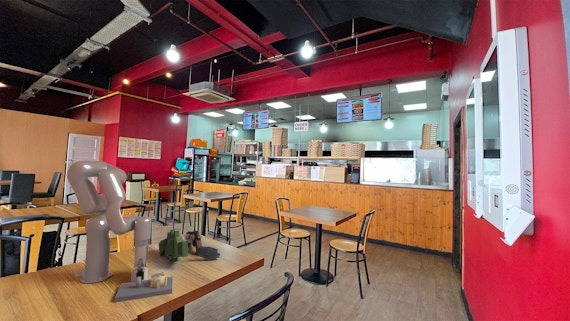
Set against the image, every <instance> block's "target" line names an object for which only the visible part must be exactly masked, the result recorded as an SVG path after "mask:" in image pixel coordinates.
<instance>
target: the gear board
mask: <svg viewBox="0 0 570 321" xmlns="http://www.w3.org/2000/svg"><path fill="white" fill-rule="evenodd" d="M173 278H174V277H173V276H169V277H168V273H167V272H166V271H162V272H157V273H154V274H152V275H151V276H150V279H147V280H143V281H141V277H137V278H136V282H132V281H129V282H121V283H120V286H119V288H118V290H117V291H116V292H117V293H116V294H115V296H114V303H120V302H126V301H127V302H128V301H131V300H133V301H134V300H139V299H140V300H141V299H144V298H151V297H157V296H163V295H169V294H171V295H172V294H173Z"/></svg>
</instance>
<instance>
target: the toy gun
mask: <svg viewBox="0 0 570 321" xmlns="http://www.w3.org/2000/svg"><path fill="white" fill-rule="evenodd" d="M202 237H203V236H202V235H201V234H200V230H199V229H198V230H194V231H193V230H191V231H186V233H185V235H184V238H183V239H184V241H187V242H188V246H193V247H194V248H195V254H196V253H197V252H198V250H199V248H200V246H203V244H202Z"/></svg>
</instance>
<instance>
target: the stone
mask: <svg viewBox="0 0 570 321" xmlns="http://www.w3.org/2000/svg"><path fill="white" fill-rule="evenodd" d="M195 255H197V256H198V257H199V258H203V259H205V260H206V261H207V262H209V261H211V260H214V259H220V257H221V253H220V252H218V248H216V247H212V246H205V245H204V246H203V245H202V246H200V248H199V250H198V252H197V253H196V252H195Z"/></svg>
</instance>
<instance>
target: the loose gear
mask: <svg viewBox="0 0 570 321" xmlns="http://www.w3.org/2000/svg"><path fill="white" fill-rule="evenodd" d="M141 268H142V267H141ZM149 270H150V268H149V267H147V266H146V267H144V270H143V271H144V280H149V272H150V271H149ZM136 272H137V267H136V268H134V269H131V275H130V276H131V277H130V278H131V279H130V280H131V281H130V282H136ZM141 281H143V280H141Z"/></svg>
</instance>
